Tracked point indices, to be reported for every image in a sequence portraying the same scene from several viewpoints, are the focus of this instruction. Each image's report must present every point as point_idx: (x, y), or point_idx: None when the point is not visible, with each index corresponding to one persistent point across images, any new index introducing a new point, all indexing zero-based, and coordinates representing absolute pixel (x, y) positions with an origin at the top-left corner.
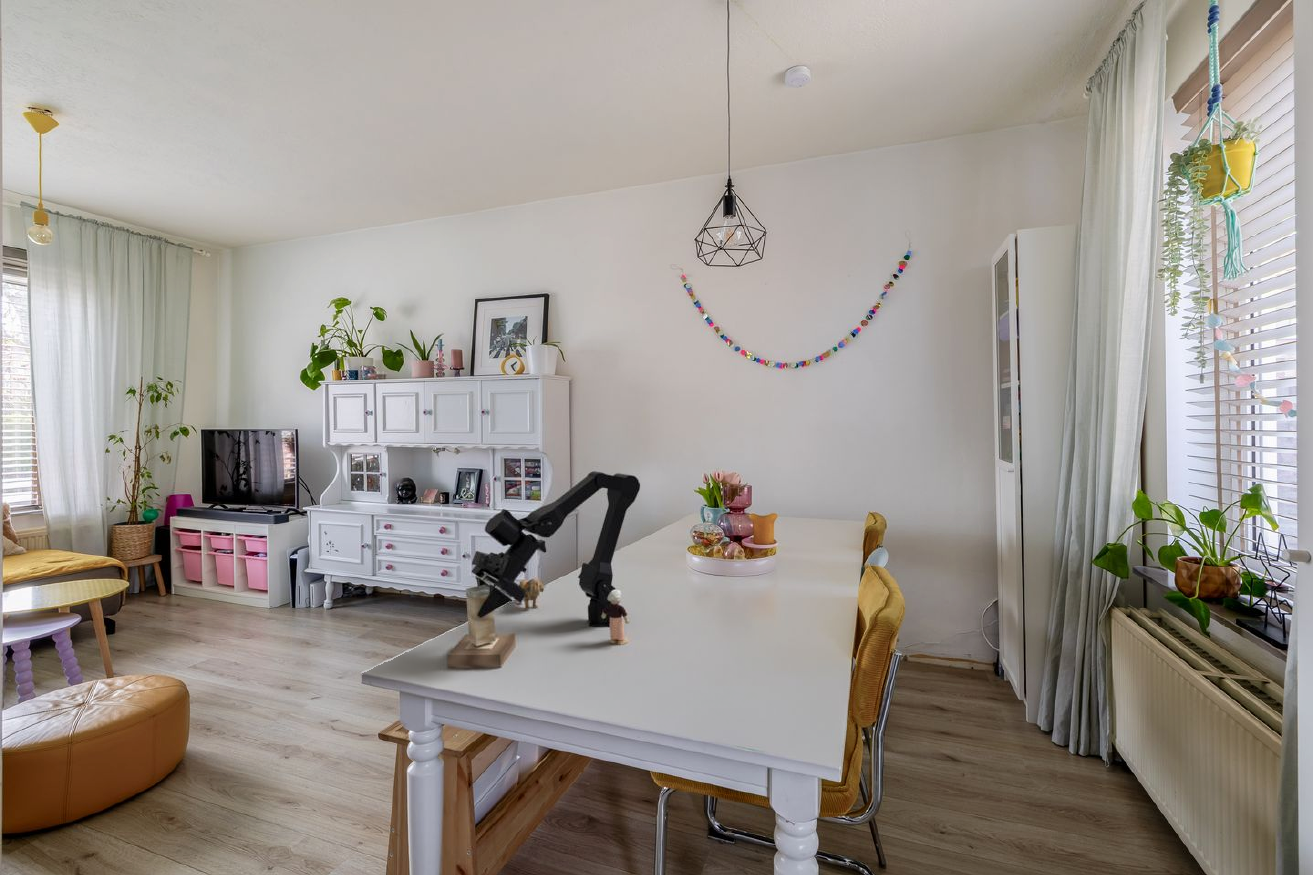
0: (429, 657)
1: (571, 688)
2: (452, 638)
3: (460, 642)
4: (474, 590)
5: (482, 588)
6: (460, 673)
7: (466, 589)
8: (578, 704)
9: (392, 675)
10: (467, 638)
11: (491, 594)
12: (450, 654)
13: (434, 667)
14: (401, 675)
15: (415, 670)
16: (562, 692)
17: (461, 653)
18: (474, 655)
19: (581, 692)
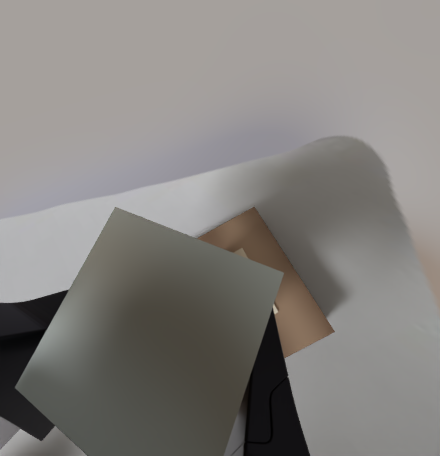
0: (342, 233)
1: (25, 262)
2: (422, 357)
3: (291, 276)
4: (156, 273)
5: (121, 366)
6: (214, 214)
7: (257, 263)
8: (6, 230)
9: (323, 148)
10: (299, 307)
11: (27, 306)
12: (250, 213)
13: (282, 206)
14: (307, 156)
15: (304, 180)
16: (33, 246)
17: (231, 228)
18: (199, 237)
19: (9, 259)
